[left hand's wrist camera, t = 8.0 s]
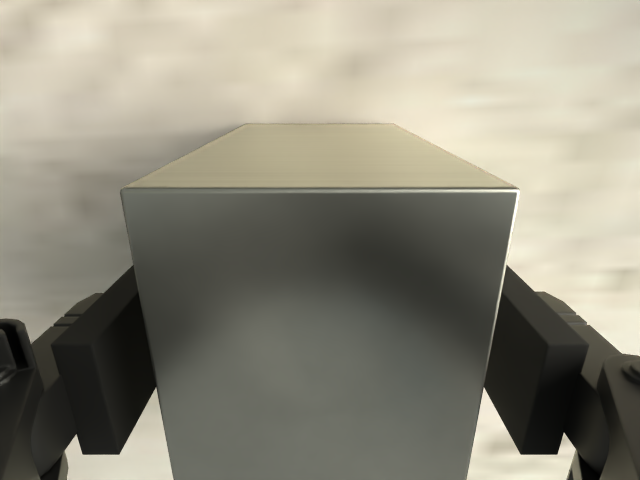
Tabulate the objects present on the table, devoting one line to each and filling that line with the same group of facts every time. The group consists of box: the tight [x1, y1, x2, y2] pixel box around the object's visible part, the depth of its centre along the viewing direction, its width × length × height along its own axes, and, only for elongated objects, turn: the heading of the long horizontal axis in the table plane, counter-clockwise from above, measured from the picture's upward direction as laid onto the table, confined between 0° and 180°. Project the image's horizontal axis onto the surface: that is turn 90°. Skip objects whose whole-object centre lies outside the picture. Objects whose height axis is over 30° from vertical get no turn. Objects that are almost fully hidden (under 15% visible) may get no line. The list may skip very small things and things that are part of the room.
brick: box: [120, 124, 520, 480], centre depth 13 cm, size 9×6×11 cm
